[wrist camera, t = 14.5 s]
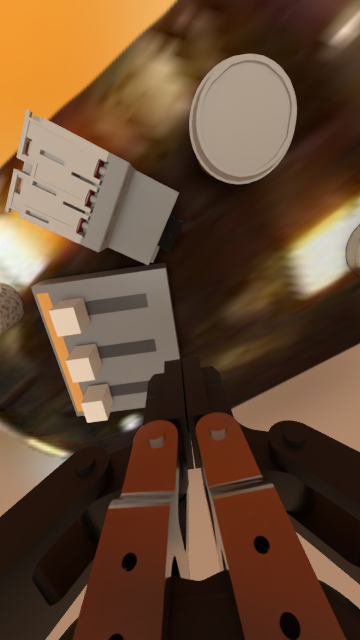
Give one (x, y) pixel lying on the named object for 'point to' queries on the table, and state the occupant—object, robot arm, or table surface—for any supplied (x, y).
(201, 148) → the disposable coffee cup
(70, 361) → the handle
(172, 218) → the circuit breaker
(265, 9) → the table surface
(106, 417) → the handle
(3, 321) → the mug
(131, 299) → the slider control panel
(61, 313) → the handle
